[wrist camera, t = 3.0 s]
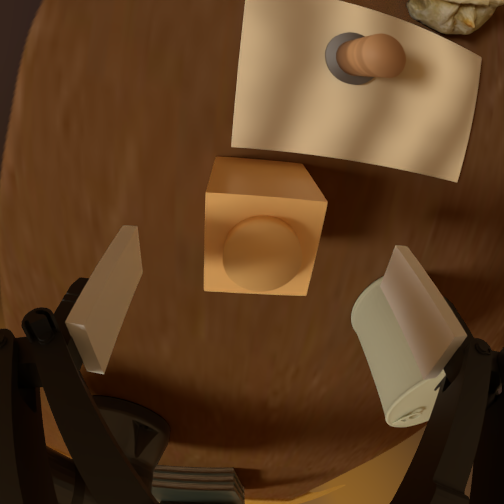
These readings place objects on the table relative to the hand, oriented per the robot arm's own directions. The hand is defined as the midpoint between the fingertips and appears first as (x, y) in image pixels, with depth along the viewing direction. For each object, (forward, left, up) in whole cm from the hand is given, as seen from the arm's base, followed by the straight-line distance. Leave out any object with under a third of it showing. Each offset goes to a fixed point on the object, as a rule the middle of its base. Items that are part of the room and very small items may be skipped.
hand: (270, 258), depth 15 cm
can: (+15, -10, -9) cm, 20 cm away
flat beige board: (+7, +9, -8) cm, 14 cm away
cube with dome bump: (0, 0, -8) cm, 8 cm away
